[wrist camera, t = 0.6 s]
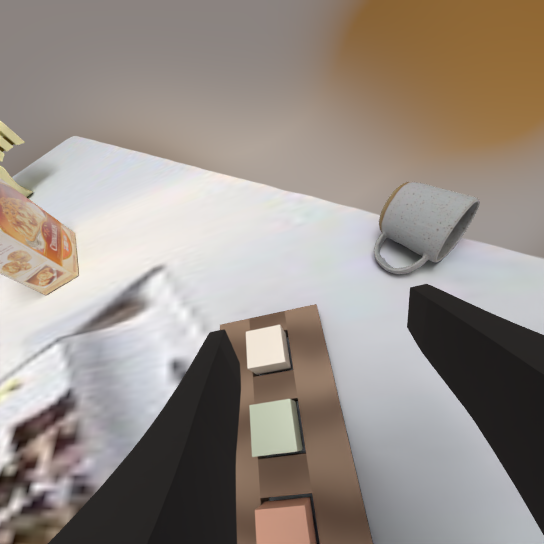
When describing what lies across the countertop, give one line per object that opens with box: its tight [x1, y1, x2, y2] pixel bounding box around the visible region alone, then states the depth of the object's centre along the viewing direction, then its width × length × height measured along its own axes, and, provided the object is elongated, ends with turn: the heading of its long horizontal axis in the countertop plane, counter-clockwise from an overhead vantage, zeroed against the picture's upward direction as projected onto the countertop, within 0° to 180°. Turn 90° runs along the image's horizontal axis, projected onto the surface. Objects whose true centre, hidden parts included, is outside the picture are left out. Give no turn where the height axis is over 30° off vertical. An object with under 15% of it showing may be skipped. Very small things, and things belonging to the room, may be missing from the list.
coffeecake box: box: [0, 178, 78, 295], centre depth 43 cm, size 15×7×20 cm, turn 31°
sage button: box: [249, 399, 303, 457], centre depth 22 cm, size 4×4×3 cm
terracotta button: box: [255, 497, 317, 544], centre depth 18 cm, size 4×4×3 cm
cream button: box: [246, 325, 291, 375], centre depth 26 cm, size 4×4×3 cm
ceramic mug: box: [374, 182, 480, 274], centre depth 30 cm, size 11×8×8 cm
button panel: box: [220, 304, 373, 544], centre depth 24 cm, size 23×12×2 cm, turn 6°
